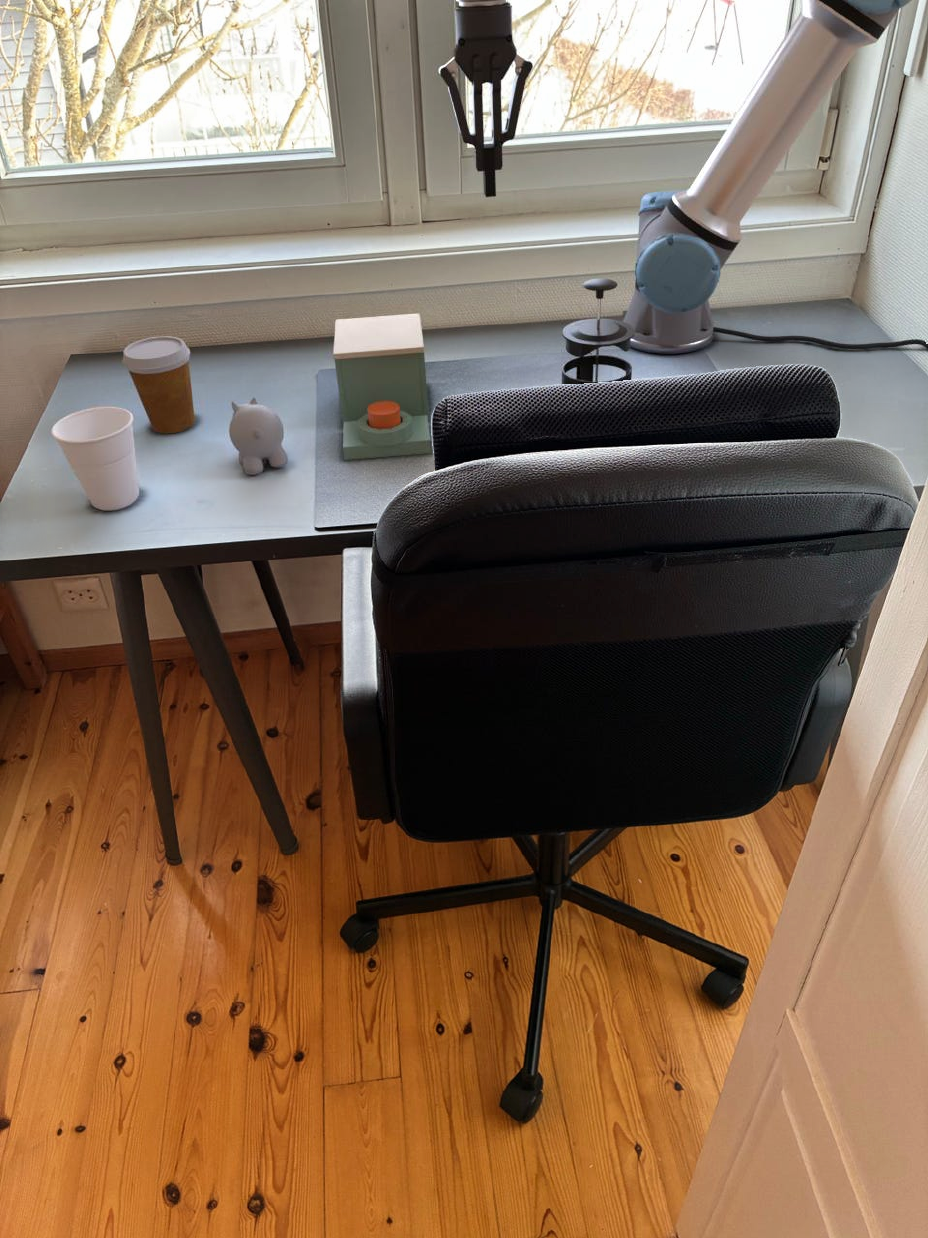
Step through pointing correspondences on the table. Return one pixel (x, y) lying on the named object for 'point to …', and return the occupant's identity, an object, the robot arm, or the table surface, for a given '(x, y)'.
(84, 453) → the cup
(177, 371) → the disposable coffee cup
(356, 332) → the lid
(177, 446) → the table surface
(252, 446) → the round bodied animal figurine
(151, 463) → the table surface
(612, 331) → the french press
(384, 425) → the button
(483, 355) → the table surface
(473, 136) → the robot arm
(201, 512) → the table surface
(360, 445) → the control block
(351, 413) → the coffee maker
